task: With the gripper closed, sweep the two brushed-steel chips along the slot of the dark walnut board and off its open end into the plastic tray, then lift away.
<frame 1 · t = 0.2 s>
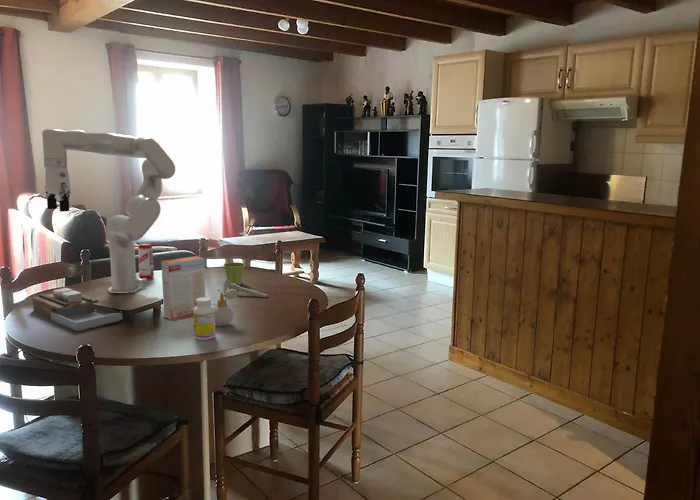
hand: (58, 210, 207), 36 cm above the table, tool pointing down, fingers open, 9 cm apart
chip rear: (63, 298, 202), point 5 cm above the table, touching slot board
tray: (87, 320, 194), on the table
plant pot: (234, 283, 249), on the table
chip front: (71, 301, 199), point 5 cm above the table, touching slot board
perfume bottle: (224, 324, 194), on the table
cracker box: (185, 315, 202), on the table
supplement bottle: (204, 337, 180), on the table
caliper: (246, 296, 230), on the table
beer can: (146, 278, 255), on the table
slot board: (66, 311, 203), on the table
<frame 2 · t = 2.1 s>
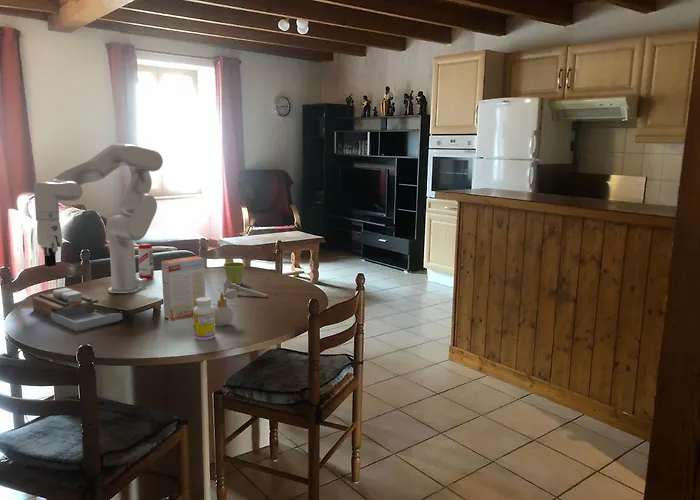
hand: (50, 265, 204), 16 cm above the table, tool pointing down, fingers closed
nothing on the table moved.
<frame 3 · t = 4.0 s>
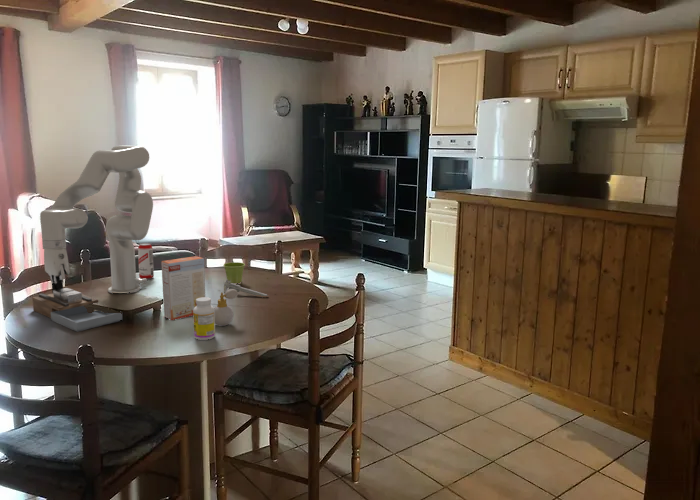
hand: (57, 293, 205), 6 cm above the table, tool pointing down, fingers closed
chip rear: (64, 298, 202), point 5 cm above the table, touching gripper
everything else where it was.
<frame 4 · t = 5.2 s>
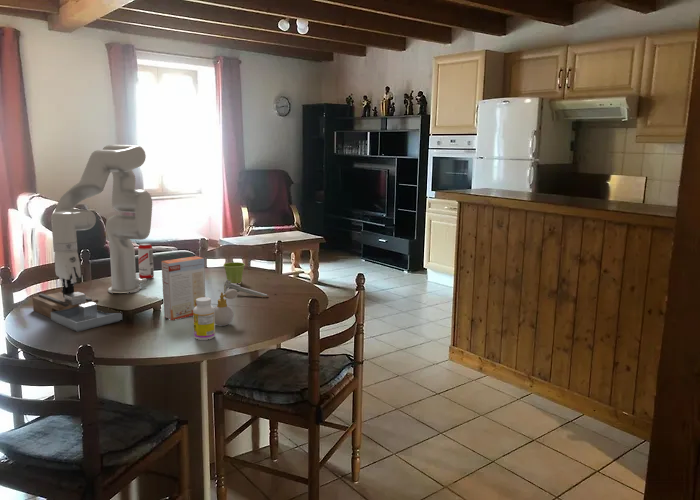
hand: (68, 297, 200), 6 cm above the table, tool pointing down, fingers closed
chip rear: (75, 302, 197), point 5 cm above the table, touching gripper
chip front: (85, 309, 195), point 3 cm above the table, tilted 97°, touching tray
everything else where it was.
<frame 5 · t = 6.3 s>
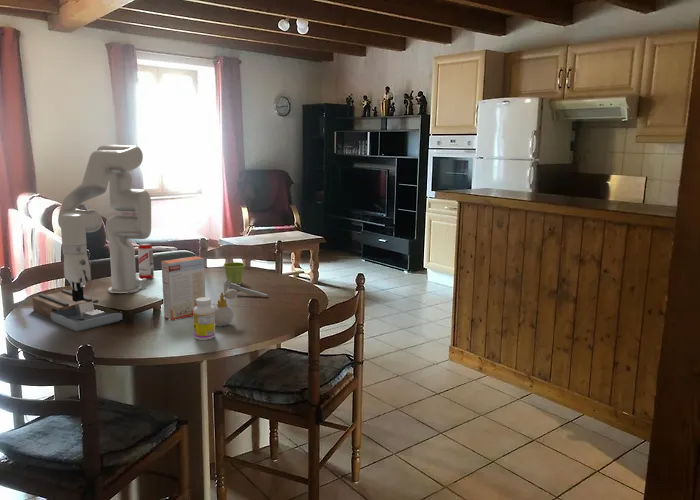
hand: (78, 300, 196), 6 cm above the table, tool pointing down, fingers closed
chip rear: (83, 310, 195), point 3 cm above the table, tilted 74°, touching tray
chip front: (94, 312, 192), point 3 cm above the table, tilted 180°, touching tray
everything else where it was.
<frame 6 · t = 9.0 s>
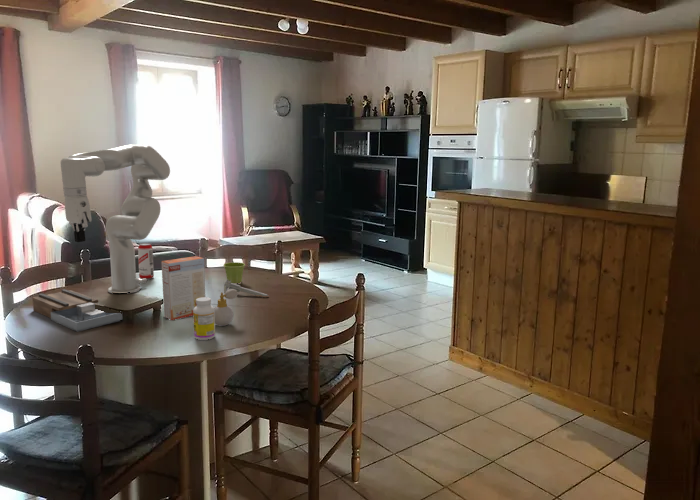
hand: (80, 241, 207), 25 cm above the table, tool pointing down, fingers closed
chip rear: (84, 310, 195), point 3 cm above the table, tilted 90°, touching tray
everything else where it was.
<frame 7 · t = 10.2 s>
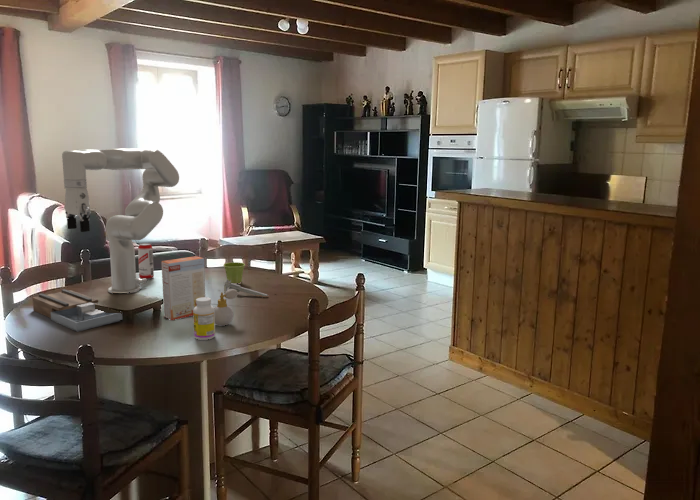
hand: (78, 230, 210), 28 cm above the table, tool pointing down, fingers open, 9 cm apart
nothing on the table moved.
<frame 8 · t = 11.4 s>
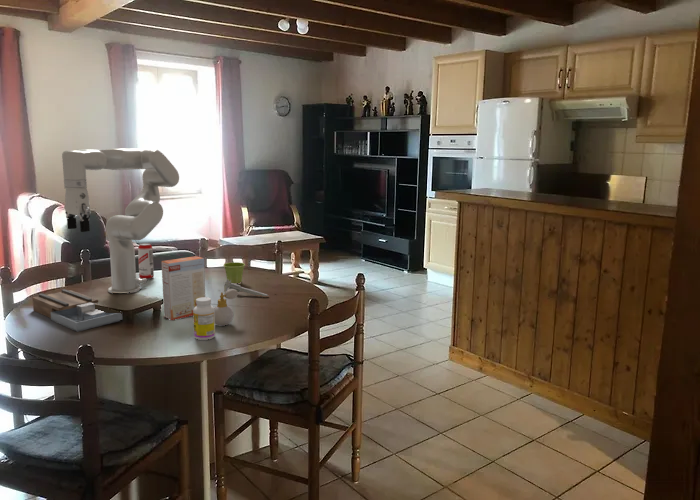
hand: (78, 230, 210), 28 cm above the table, tool pointing down, fingers open, 9 cm apart
nothing on the table moved.
at the end: chip rear inside the target area on the tray (2.1 cm from its centre), point 3.0 cm above the tray's base; chip front inside the target area on the tray (3.7 cm from its centre), point 3.5 cm above the tray's base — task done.
